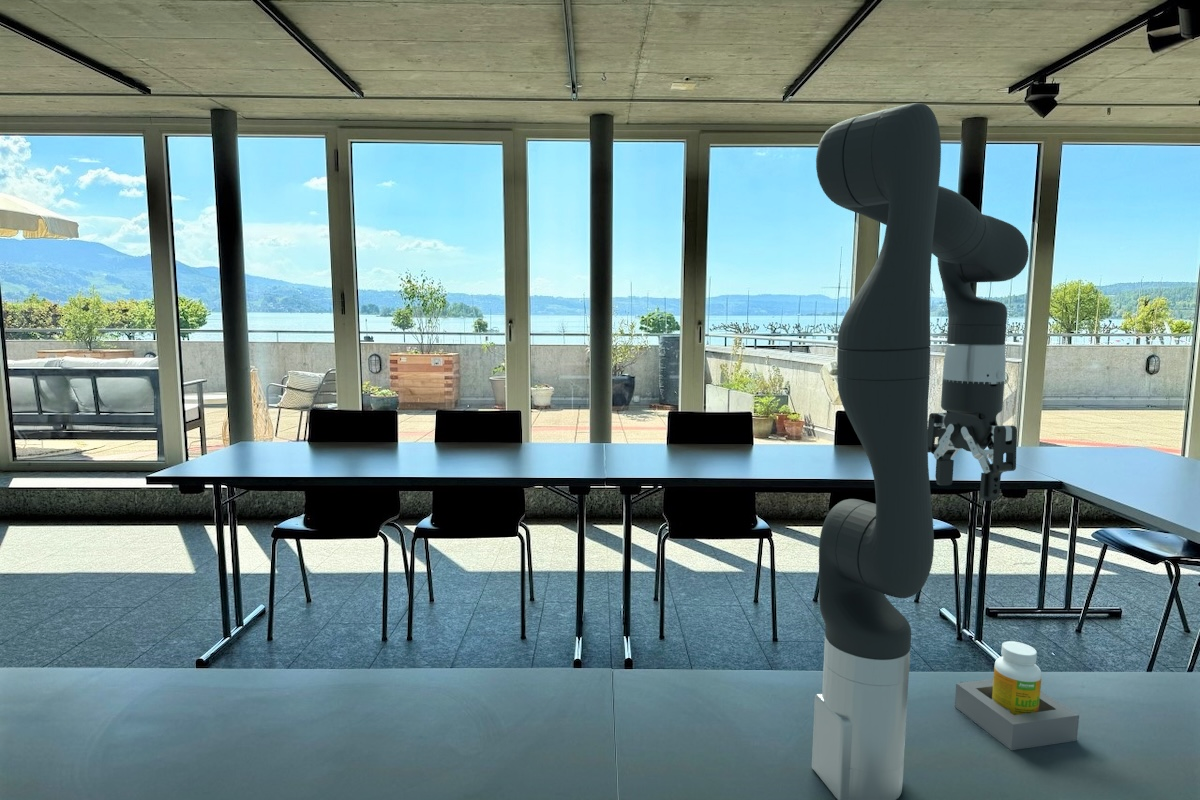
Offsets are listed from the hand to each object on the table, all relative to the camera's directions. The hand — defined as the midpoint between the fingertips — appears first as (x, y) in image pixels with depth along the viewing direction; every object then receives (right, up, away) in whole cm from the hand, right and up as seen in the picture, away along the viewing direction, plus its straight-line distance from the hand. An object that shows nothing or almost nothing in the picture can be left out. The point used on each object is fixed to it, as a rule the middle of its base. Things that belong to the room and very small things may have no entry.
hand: (965, 492), depth 95 cm
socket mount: (+5, -31, -4) cm, 31 cm away
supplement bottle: (+5, -30, -4) cm, 31 cm away
